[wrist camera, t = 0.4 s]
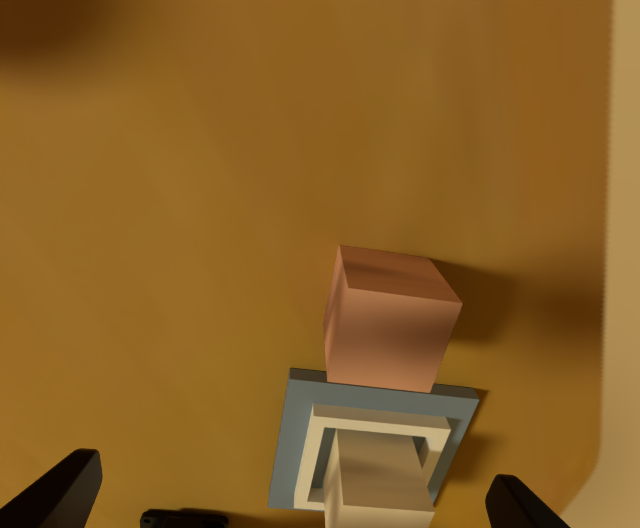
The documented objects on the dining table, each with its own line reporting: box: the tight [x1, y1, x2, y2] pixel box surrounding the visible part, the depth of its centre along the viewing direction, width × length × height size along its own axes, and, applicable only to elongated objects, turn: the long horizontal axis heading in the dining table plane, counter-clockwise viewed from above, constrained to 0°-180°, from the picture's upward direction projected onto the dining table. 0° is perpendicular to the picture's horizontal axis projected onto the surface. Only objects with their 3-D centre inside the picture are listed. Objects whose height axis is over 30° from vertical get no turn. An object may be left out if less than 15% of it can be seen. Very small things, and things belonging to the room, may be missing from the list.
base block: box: [323, 428, 435, 528], centre depth 23 cm, size 5×5×5 cm
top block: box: [323, 245, 463, 393], centre depth 19 cm, size 5×5×5 cm
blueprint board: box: [268, 368, 479, 512], centre depth 25 cm, size 12×12×2 cm
